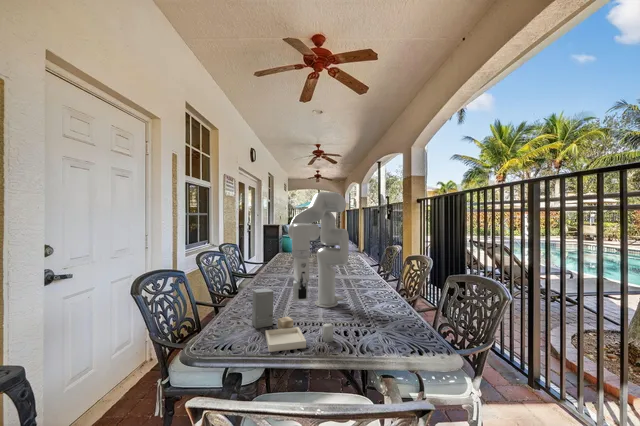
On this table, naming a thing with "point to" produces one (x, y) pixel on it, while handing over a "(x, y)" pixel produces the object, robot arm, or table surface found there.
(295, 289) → the skincare box
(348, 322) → the table surface
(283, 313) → the table surface
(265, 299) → the skincare box
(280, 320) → the beech block
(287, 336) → the tray
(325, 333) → the grey dowel
